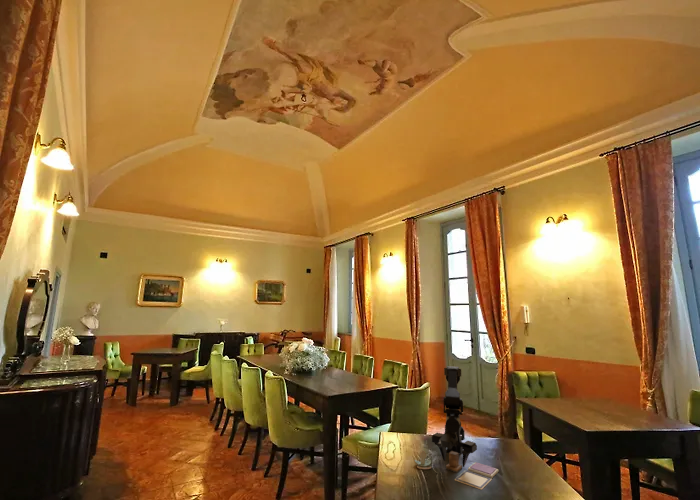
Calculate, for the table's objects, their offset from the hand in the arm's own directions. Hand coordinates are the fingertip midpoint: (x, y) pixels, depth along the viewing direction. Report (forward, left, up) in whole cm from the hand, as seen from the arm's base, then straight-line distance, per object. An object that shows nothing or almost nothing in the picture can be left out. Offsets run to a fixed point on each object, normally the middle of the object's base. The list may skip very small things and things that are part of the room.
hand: (453, 463), depth 153 cm
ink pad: (+10, +7, -2) cm, 12 cm away
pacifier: (-11, -7, -2) cm, 13 cm away
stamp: (0, 0, -2) cm, 2 cm away
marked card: (+10, -4, -2) cm, 11 cm away
